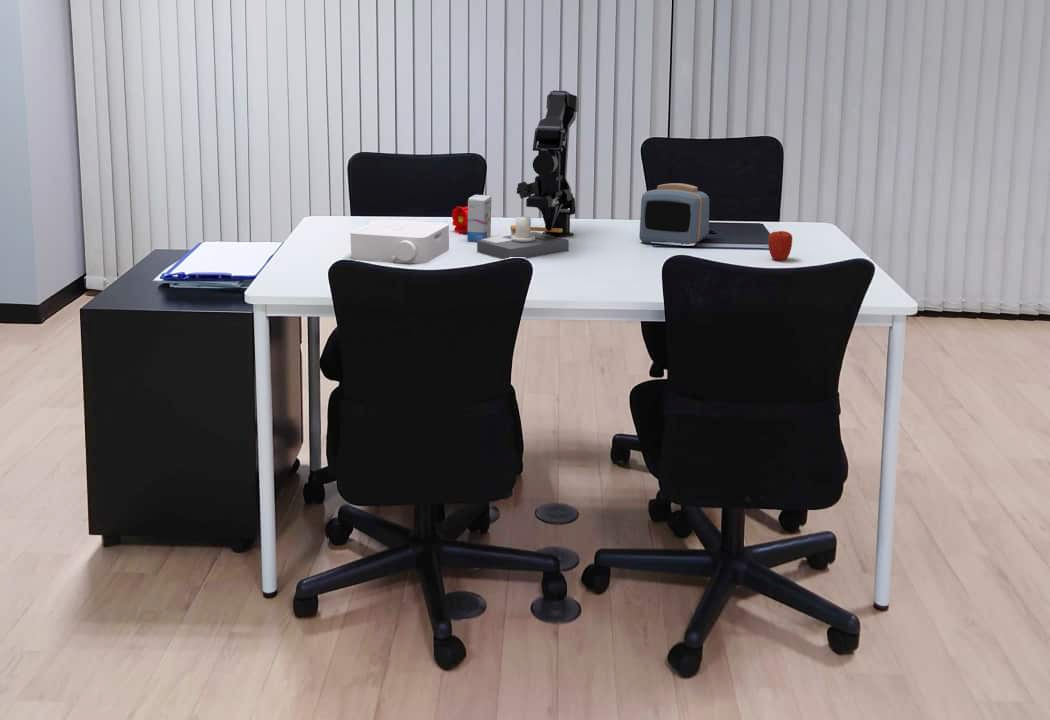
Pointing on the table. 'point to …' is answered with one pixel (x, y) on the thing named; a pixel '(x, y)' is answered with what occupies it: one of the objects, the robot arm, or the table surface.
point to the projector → (400, 241)
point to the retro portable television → (674, 214)
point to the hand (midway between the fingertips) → (548, 230)
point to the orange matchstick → (539, 229)
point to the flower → (460, 219)
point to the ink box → (479, 217)
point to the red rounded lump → (780, 245)
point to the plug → (523, 230)
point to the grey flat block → (522, 246)
